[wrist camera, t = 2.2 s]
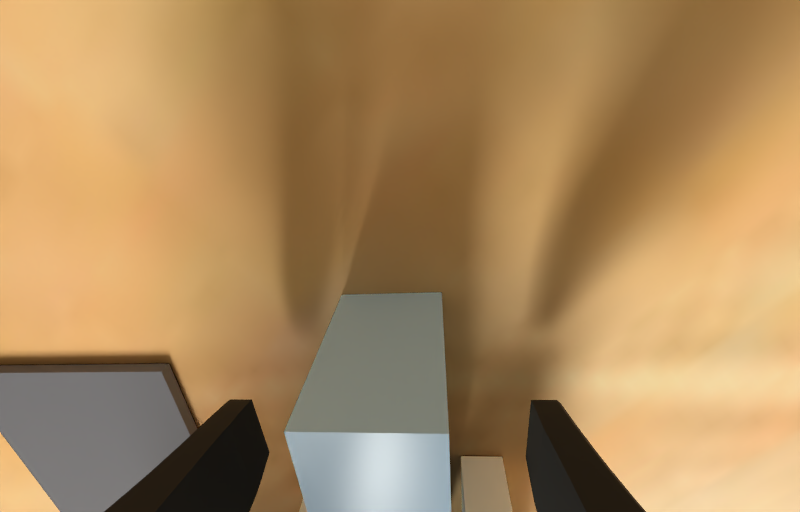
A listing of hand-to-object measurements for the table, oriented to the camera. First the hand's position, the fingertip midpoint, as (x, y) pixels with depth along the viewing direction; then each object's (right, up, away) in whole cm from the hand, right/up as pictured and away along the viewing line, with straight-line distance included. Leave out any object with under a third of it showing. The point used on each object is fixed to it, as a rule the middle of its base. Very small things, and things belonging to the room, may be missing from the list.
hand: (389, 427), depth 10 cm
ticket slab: (0, -1, +4) cm, 4 cm away
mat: (-11, -6, +7) cm, 14 cm away
